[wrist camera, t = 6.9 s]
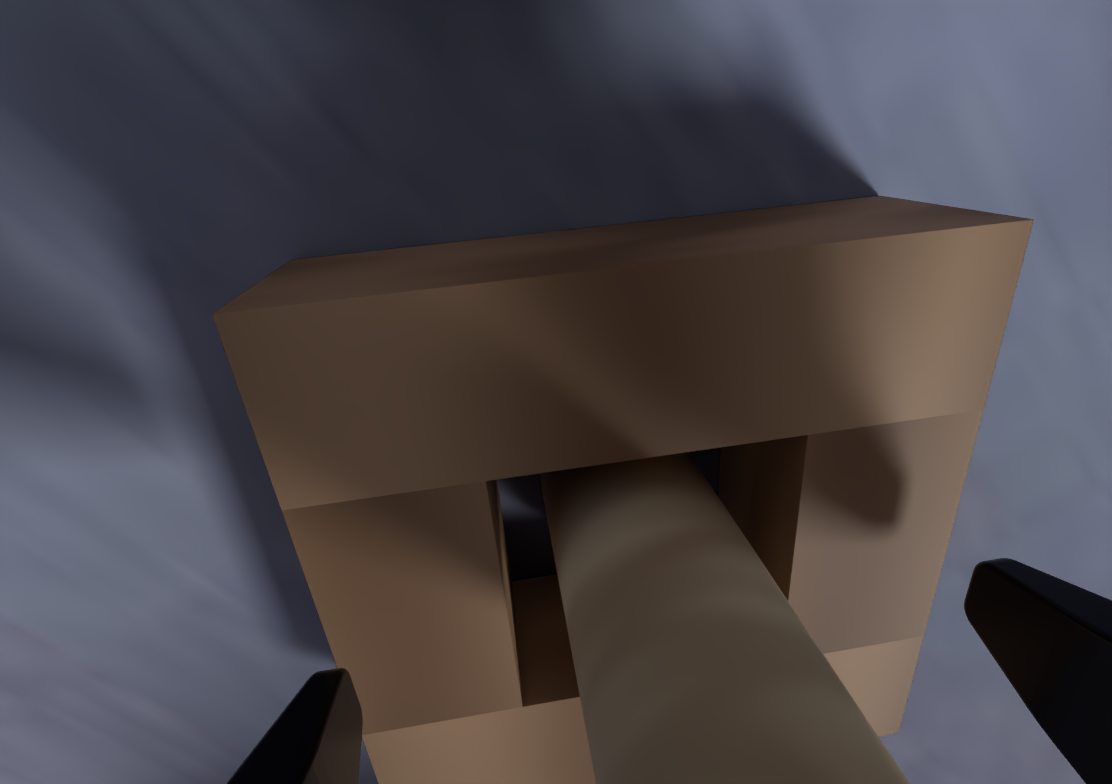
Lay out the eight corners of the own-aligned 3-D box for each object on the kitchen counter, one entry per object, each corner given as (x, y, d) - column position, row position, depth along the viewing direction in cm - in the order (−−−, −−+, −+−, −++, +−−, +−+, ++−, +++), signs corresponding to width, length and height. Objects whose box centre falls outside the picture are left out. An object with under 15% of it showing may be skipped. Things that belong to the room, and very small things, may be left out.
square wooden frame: (880, 195, 10) (1033, 219, 7) (817, 617, 14) (898, 732, 11) (290, 259, 9) (212, 313, 6) (410, 687, 13) (394, 829, 11)
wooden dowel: (686, 398, 11) (1271, 1134, 3) (684, 522, 12) (1088, 1275, 4) (533, 418, 11) (706, 1281, 3) (547, 543, 12) (694, 1385, 4)
